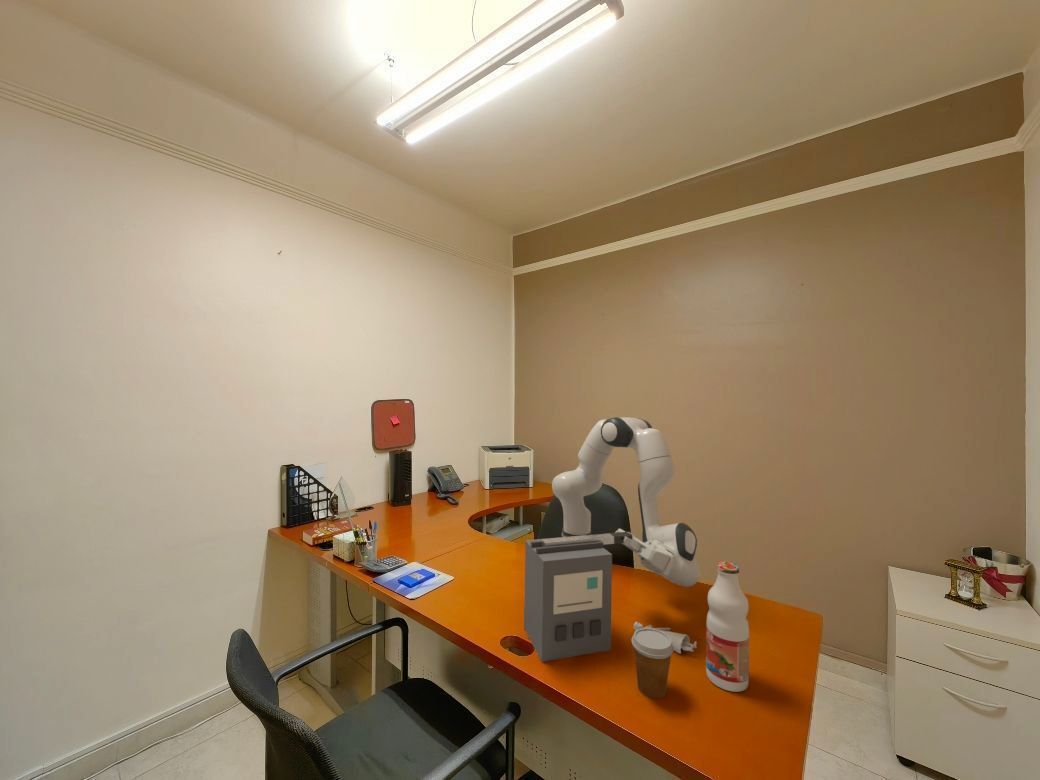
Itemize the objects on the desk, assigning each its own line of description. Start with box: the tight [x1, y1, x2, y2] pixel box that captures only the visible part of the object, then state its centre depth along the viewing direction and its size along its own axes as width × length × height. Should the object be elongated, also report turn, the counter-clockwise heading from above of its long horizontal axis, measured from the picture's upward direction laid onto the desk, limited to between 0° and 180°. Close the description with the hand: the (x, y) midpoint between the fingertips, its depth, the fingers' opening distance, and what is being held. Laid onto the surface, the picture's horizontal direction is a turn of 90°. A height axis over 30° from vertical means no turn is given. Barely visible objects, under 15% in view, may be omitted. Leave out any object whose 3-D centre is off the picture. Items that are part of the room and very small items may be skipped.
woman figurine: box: [633, 621, 698, 655], centre depth 116 cm, size 12×4×18 cm
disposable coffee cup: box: [630, 627, 674, 699], centre depth 97 cm, size 10×10×12 cm
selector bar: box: [540, 531, 635, 547], centre depth 119 cm, size 3×28×2 cm, turn 106°
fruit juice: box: [705, 561, 750, 693], centre depth 101 cm, size 9×9×28 cm
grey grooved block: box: [523, 535, 613, 663], centre depth 117 cm, size 17×20×27 cm
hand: (619, 536), depth 122 cm, fingers closed on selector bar, 3 cm apart
